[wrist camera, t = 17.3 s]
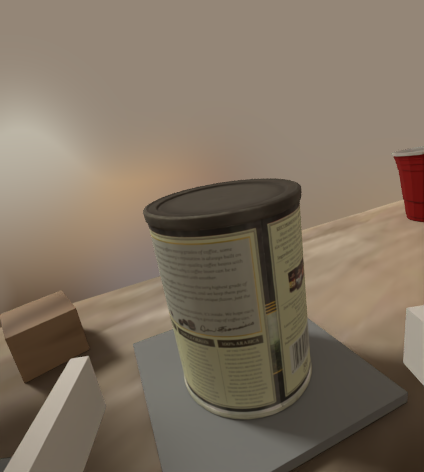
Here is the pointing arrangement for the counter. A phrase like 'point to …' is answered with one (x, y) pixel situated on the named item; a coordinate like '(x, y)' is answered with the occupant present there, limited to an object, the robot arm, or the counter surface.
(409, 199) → the plastic cup
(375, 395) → the mat
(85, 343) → the walnut block
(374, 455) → the counter surface
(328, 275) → the counter surface
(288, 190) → the coffee can
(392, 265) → the counter surface
